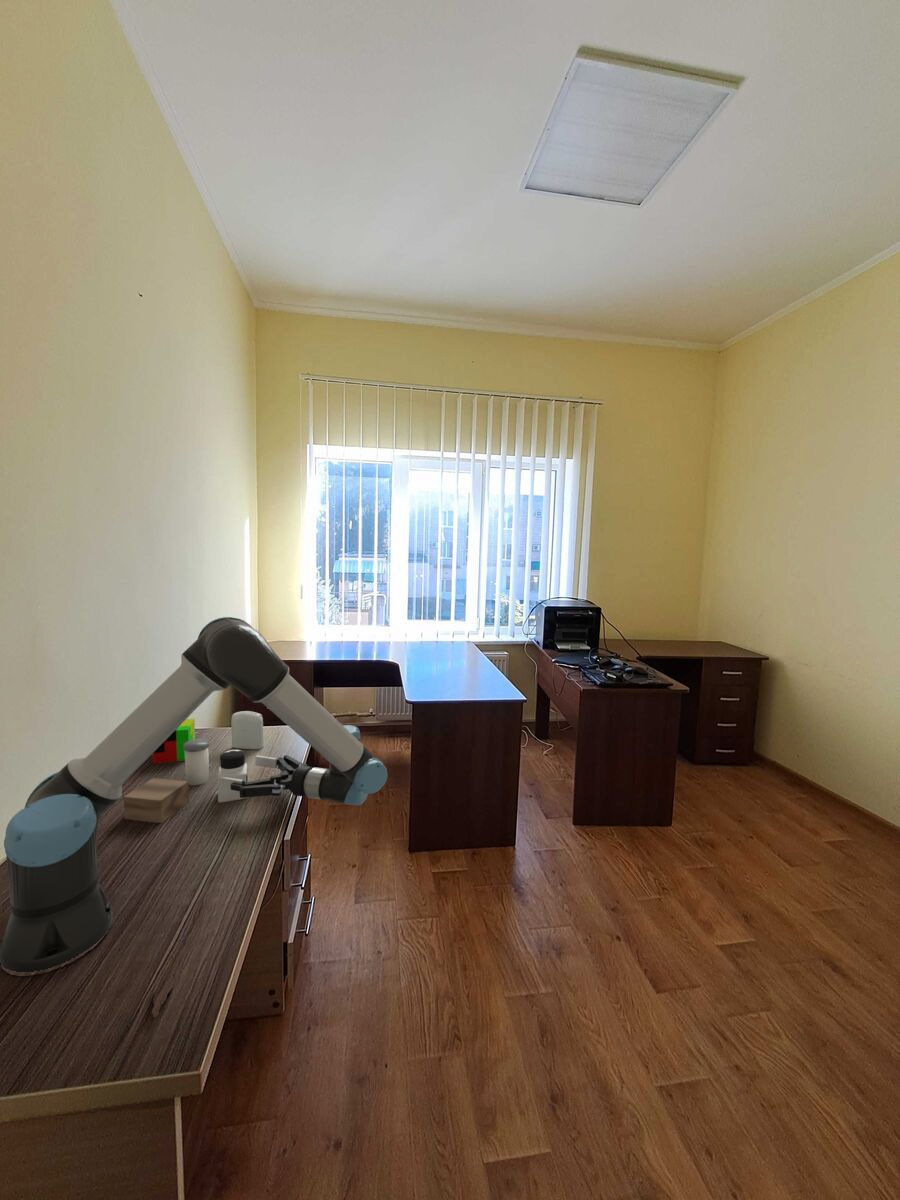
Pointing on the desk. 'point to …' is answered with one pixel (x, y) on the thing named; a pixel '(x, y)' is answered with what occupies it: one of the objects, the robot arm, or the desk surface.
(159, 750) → the puzzle toy
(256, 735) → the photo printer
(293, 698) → the robot arm
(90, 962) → the desk surface
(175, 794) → the walnut block
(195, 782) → the plastic jar
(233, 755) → the medicine bottle
